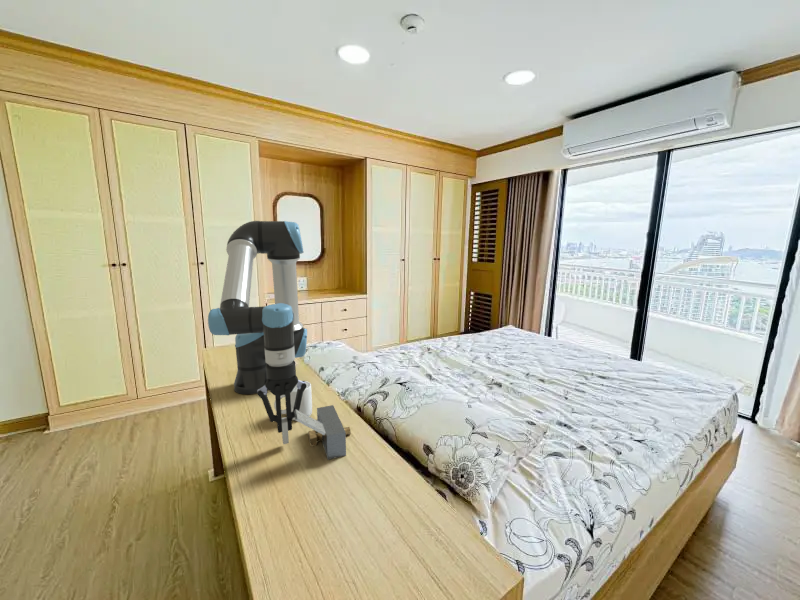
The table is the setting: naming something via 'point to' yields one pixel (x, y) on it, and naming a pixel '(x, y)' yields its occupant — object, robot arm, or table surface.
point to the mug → (305, 402)
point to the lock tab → (309, 422)
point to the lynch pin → (318, 436)
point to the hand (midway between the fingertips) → (285, 441)
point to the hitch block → (332, 432)
